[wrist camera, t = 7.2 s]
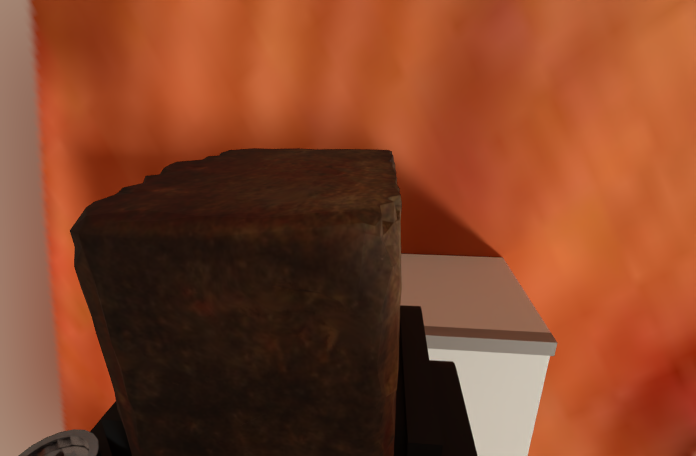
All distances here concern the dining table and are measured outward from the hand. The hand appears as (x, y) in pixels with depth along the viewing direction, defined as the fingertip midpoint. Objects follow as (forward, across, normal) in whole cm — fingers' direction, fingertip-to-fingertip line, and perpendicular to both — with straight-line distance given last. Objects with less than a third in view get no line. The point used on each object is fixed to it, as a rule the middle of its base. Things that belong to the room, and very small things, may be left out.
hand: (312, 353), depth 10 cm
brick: (0, 0, 0) cm, 0 cm away
